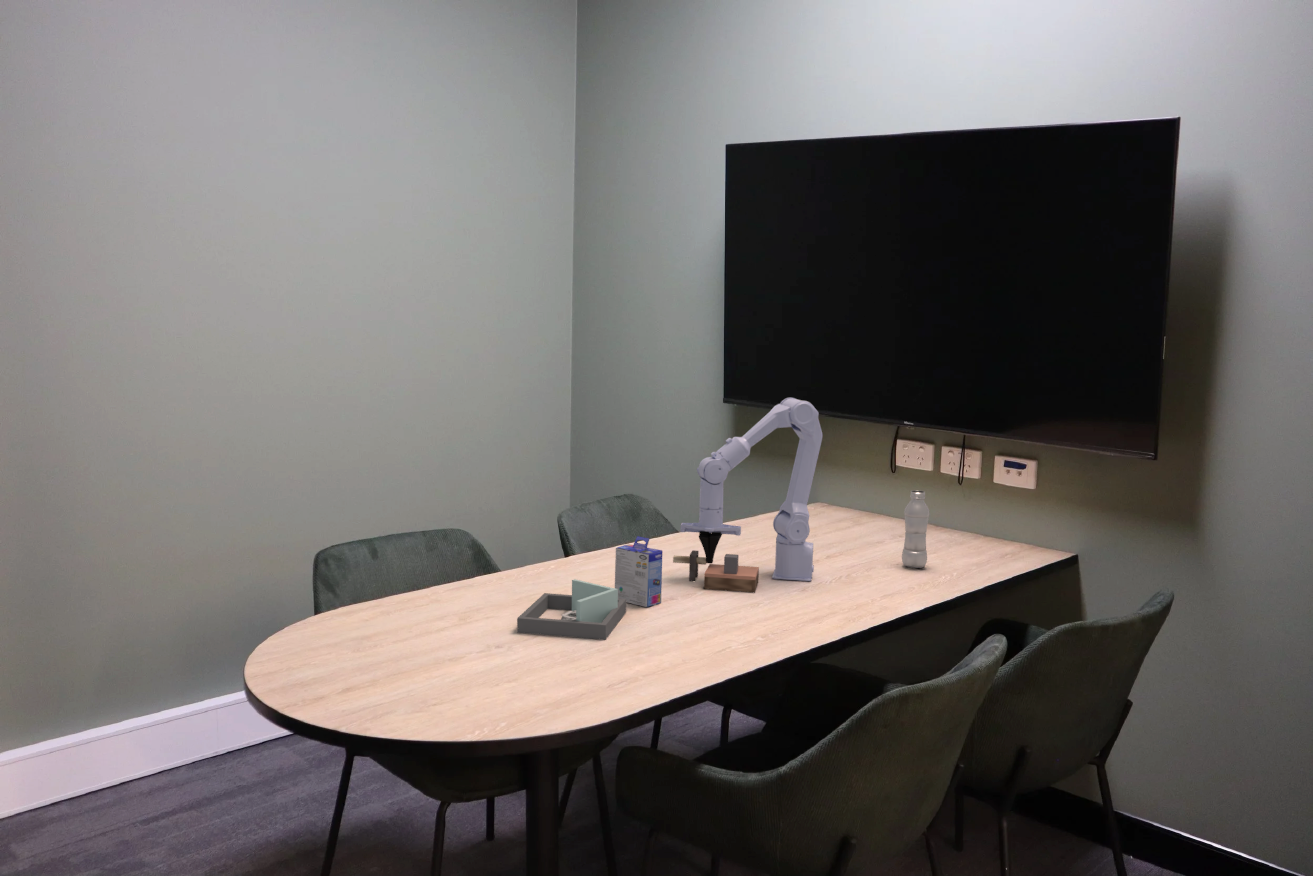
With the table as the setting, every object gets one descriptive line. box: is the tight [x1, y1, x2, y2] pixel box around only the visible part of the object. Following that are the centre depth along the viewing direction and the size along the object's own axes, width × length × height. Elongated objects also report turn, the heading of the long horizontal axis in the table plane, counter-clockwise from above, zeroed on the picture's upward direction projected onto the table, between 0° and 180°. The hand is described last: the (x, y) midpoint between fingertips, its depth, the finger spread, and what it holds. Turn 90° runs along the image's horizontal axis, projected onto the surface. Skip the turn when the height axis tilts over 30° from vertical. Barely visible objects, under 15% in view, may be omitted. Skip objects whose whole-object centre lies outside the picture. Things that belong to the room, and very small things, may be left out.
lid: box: [703, 553, 760, 580], centre depth 238 cm, size 12×9×6 cm
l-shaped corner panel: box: [560, 578, 618, 623], centre depth 209 cm, size 12×12×8 cm
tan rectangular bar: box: [672, 555, 708, 565], centre depth 244 cm, size 8×2×1 cm, turn 79°
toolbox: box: [688, 550, 760, 594], centre depth 240 cm, size 16×10×7 cm, turn 79°
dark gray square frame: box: [516, 592, 627, 641], centre depth 209 cm, size 18×18×3 cm
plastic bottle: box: [901, 489, 930, 569], centre depth 258 cm, size 6×7×20 cm
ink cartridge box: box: [614, 535, 663, 608], centre depth 224 cm, size 10×6×14 cm, turn 53°
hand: (709, 562), depth 243 cm, fingers closed
